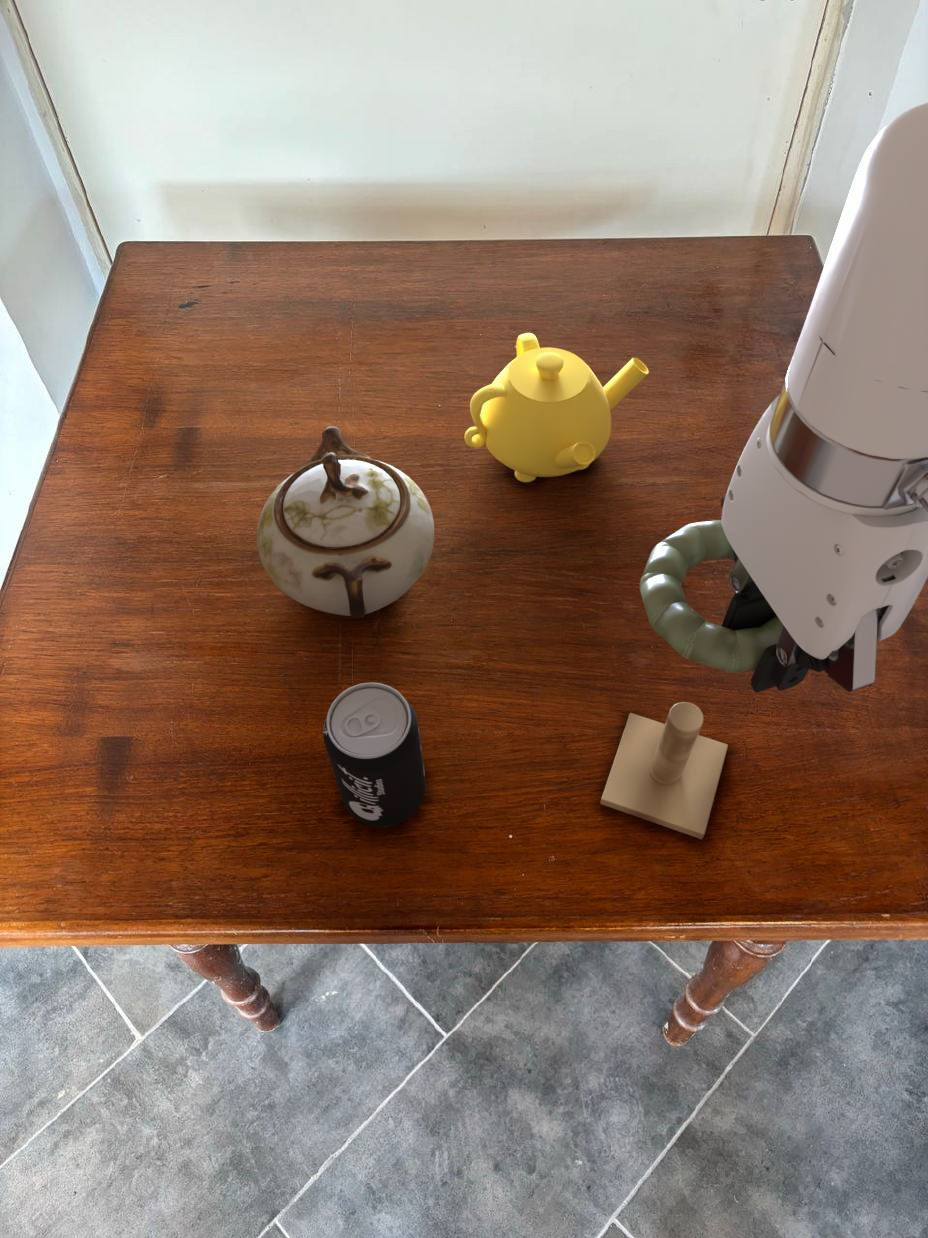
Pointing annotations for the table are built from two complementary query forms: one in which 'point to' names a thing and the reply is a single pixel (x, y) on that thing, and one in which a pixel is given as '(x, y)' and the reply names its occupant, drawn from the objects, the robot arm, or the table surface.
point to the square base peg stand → (666, 771)
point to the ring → (684, 622)
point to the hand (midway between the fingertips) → (760, 654)
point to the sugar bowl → (345, 531)
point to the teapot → (547, 411)
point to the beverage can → (376, 754)
